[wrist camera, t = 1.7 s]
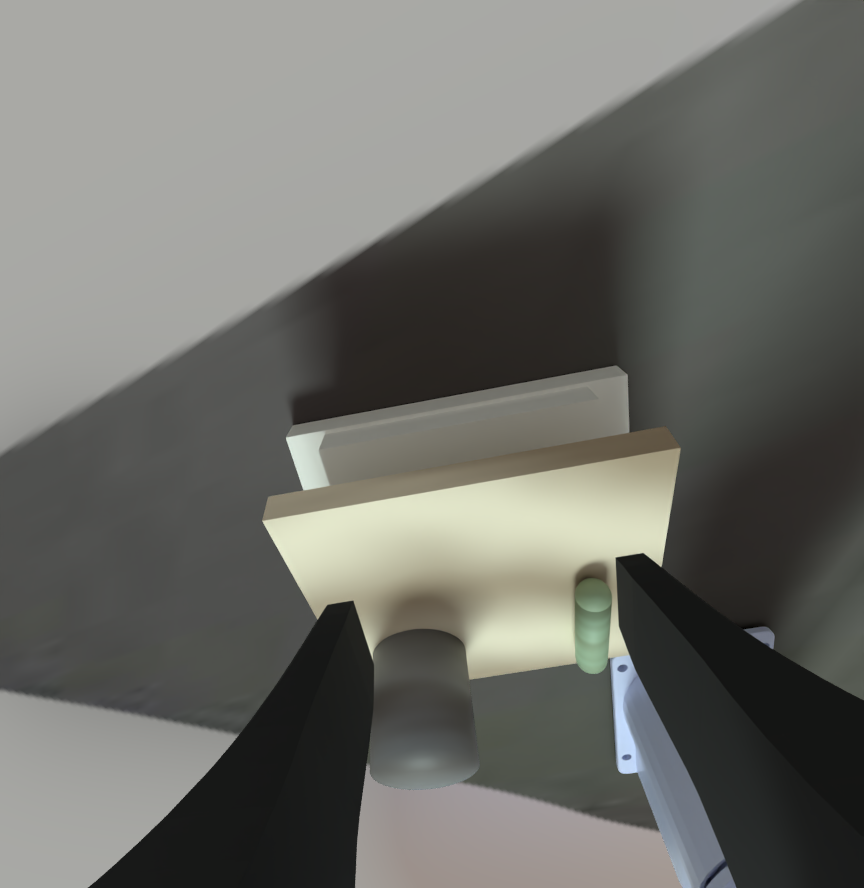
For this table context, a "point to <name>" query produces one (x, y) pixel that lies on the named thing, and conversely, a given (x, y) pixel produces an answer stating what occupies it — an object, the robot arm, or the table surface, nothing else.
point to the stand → (461, 428)
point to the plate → (477, 578)
